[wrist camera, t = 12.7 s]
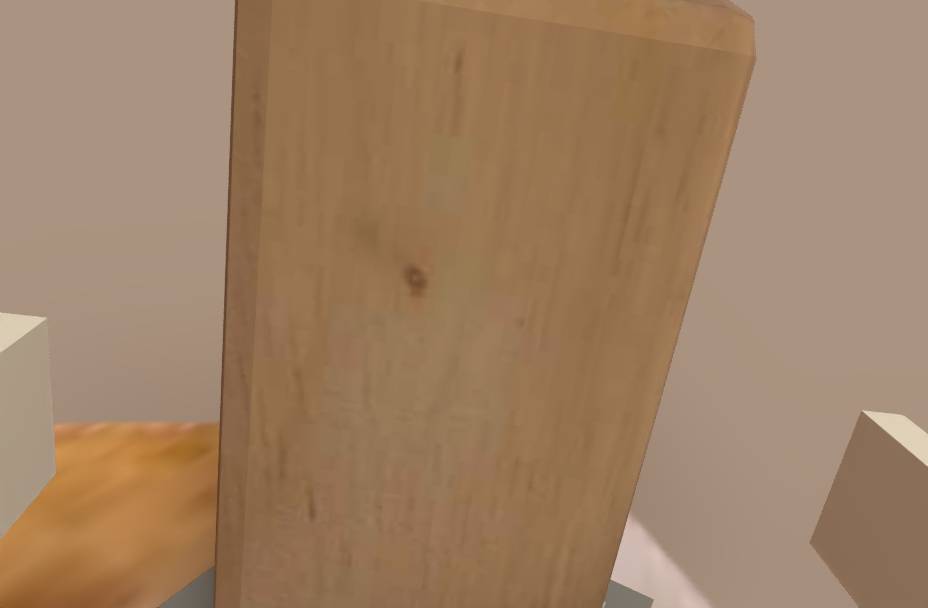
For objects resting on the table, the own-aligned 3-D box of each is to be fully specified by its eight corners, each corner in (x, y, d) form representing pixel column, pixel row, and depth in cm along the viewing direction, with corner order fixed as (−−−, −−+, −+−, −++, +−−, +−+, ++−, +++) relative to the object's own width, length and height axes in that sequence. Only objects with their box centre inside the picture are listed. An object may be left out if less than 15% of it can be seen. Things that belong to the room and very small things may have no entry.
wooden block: (195, 742, 19) (218, -97, 12) (293, 510, 28) (337, -33, 21) (563, 794, 19) (794, -2, 12) (538, 547, 28) (660, 20, 22)
